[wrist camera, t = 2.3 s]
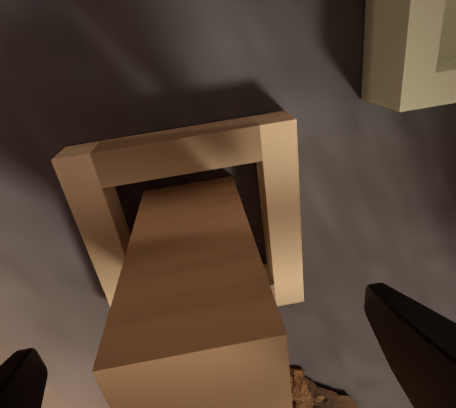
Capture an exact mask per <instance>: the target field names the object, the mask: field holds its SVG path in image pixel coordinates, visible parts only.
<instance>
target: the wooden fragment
mask: <svg viewBox="0 0 456 408" xmlns="http://www.w3.org/2000/svg"><path fill="white" fill-rule="evenodd" d="M289 368H290V381H291V394H292V407H293V408H358V407H357V405H356V403H355V402H354V401H353V400H352V399H351V398H350V396H348V395H345V396H344V395H338V394H337V393H336V392H333V391H332V390H326V389H324V388H322V387H320V386H317V385H316V384H315V383H314V382H312V381H311V380H308V379H307V378H306V377H304V370H303V369H301V368H296V367H291V366H289Z"/></svg>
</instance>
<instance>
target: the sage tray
mask: <svg viewBox="0 0 456 408" xmlns="http://www.w3.org/2000/svg"><path fill="white" fill-rule="evenodd" d="M361 100H364V101H367V102H370V103H373V104H376V105H379V106H382V107H385V108H388V109H391V110H394V111H397V112H404V111H410V110H416V109H422V108H428V107H434V106H440V105H446V104H452V103H456V0H366V7H365V28H364V49H363V70H362V91H361Z"/></svg>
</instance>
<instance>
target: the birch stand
mask: <svg viewBox="0 0 456 408" xmlns="http://www.w3.org/2000/svg"><path fill="white" fill-rule="evenodd" d="M51 162H52V164H53V167H54V169H55V172H56V174H57V177H58V179H59V182H60V184H61V187H62V189H63V191H64V194H65V196H66V199H67V201H68V204H69V206H70V209H71V211H72V214H73V216H74V219H75V221H76V224H77V226H78V228H79V231H80V233H81V236H82V238H83V241H84V243H85V246H86V248H87V251H88V253H89V256H90V258H91V261H92V263H93V266H94V268H95V270H96V273H97V275H98V278H99V280H100V283H101V285H102V288H103V290H104V293H105V295H106V298H107V300H108V303H109V305H110V307H111V304H112V300H113V297H114V293H115V290H116V286H117V283H118V279H119V276H120V272H121V269H122V265H123V262H124V258H125V255H126V251H127V248H128V244H129V241H130V237H131V234H130V231H129V228H128V225H127V222H126V219H125V216H124V212H123V209H122V206H121V203H120V200H119V197H118V194H117V191H116V188H115V186H119V185H125V184H131V183H136V182H142V181H148V180H154V179H160V178H166V177H172V176H178V175H183V174H189V173H195V172H201V171H207V170H213V169H219V168H224V167H230V166H236V165H242V164H248V163H254V162H256V165H257V175H258V184H259V194H260V204H261V214H262V223H263V233H264V243H265V252H266V262H267V264H263V266H264V269H265V272H266V275H267V278H268V281H269V284H270V286H271V289H272V292H273V295H274V298H275V301H276V304H277V306H282V305H287V304H292V303H298V302H303V301H304V291H303V267H302V242H301V218H300V193H299V168H298V144H297V119H295V118H294V117H293V116H291V115H290V114H288V113H287V112H286V111H279V112H273V113H267V114H261V115H255V116H249V117H243V118H237V119H231V120H225V121H219V122H212V123H206V124H200V125H194V126H188V127H182V128H176V129H170V130H164V131H158V132H152V133H146V134H140V135H134V136H127V137H121V138H115V139H109V140H103V141H97V142H91V143H85V144H79V145H73V146H67V147H65V148H64V149H63V150H62V151H60V152H59V153H58V154H57V155H56V156H55V157H54V158H52V159H51Z"/></svg>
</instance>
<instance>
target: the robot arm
mask: <svg viewBox="0 0 456 408" xmlns="http://www.w3.org/2000/svg"><path fill="white" fill-rule="evenodd" d="M364 309H365V314H366V316H367V318H368V321H369V323H370V325H371V327H372V329H373V331H374V334H375V336H376V338H377V340H378V342H379V344H380V346H381V349H382V351H383V353H384V355H385V357H386V359H387V361H388V363H389V366H390V368H391V369H392V371H393V373H394V375H395V377H396V378H397V380H398V382H399V383H400V385H401V387H402V388H403V390H404V392H405V393H406V395H407V397H408V398H409V400H410V402H411V404H412V405H413V407H414V408H456V323H455V322H453V321H451V320H449V319H447V318H445V317H444V316H442V315H440V314H438V313H436V312H435V311H433V310H431V309H429V308H427V307H426V306H424V305H422V304H420V303H418V302H416V301H415V300H413V299H411V298H409V297H407V296H406V295H404V294H402V293H400V292H398V291H397V290H395V289H393V288H391V287H389V286H388V285H386V284H384V283H375V284H369V285H367V286H366V289H365V303H364ZM47 374H48V373H47V368H46V366H45V364H44V362H43V361H42V359H41V357H40V355H39V354H38V352H37V351H36V349H34V348H28V349H23V350H19V351H16V352H15V353H14V354H12V355H11V356H10V357H9V358H8V359H7V360H6V361H5V362H4V363H3V364H2V365H0V408H41V405H42V400H43V395H44V391H45V386H46V381H47Z"/></svg>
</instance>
